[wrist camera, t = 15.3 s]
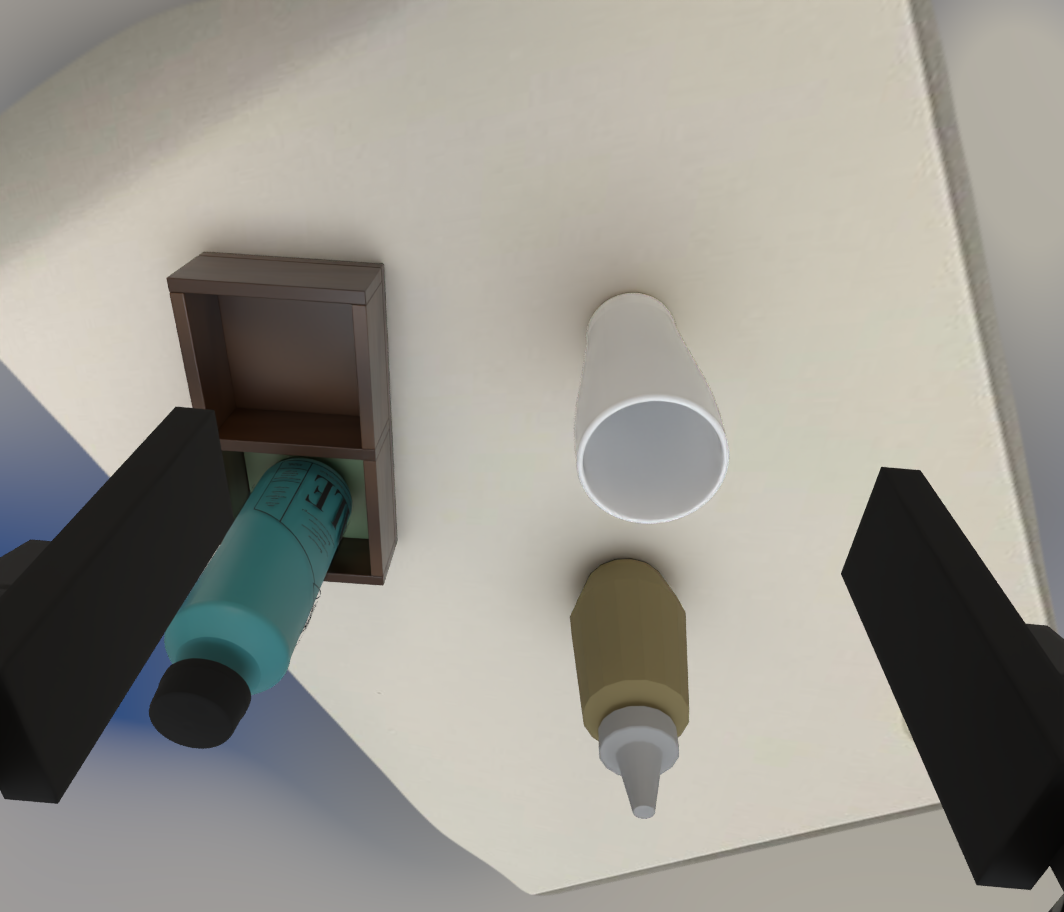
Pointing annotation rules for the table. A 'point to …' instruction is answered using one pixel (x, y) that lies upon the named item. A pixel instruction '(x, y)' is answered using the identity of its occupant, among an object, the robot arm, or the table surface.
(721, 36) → the table surface
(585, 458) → the drinking glass
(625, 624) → the squeeze bottle
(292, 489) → the beverage bottle
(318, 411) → the divided box
